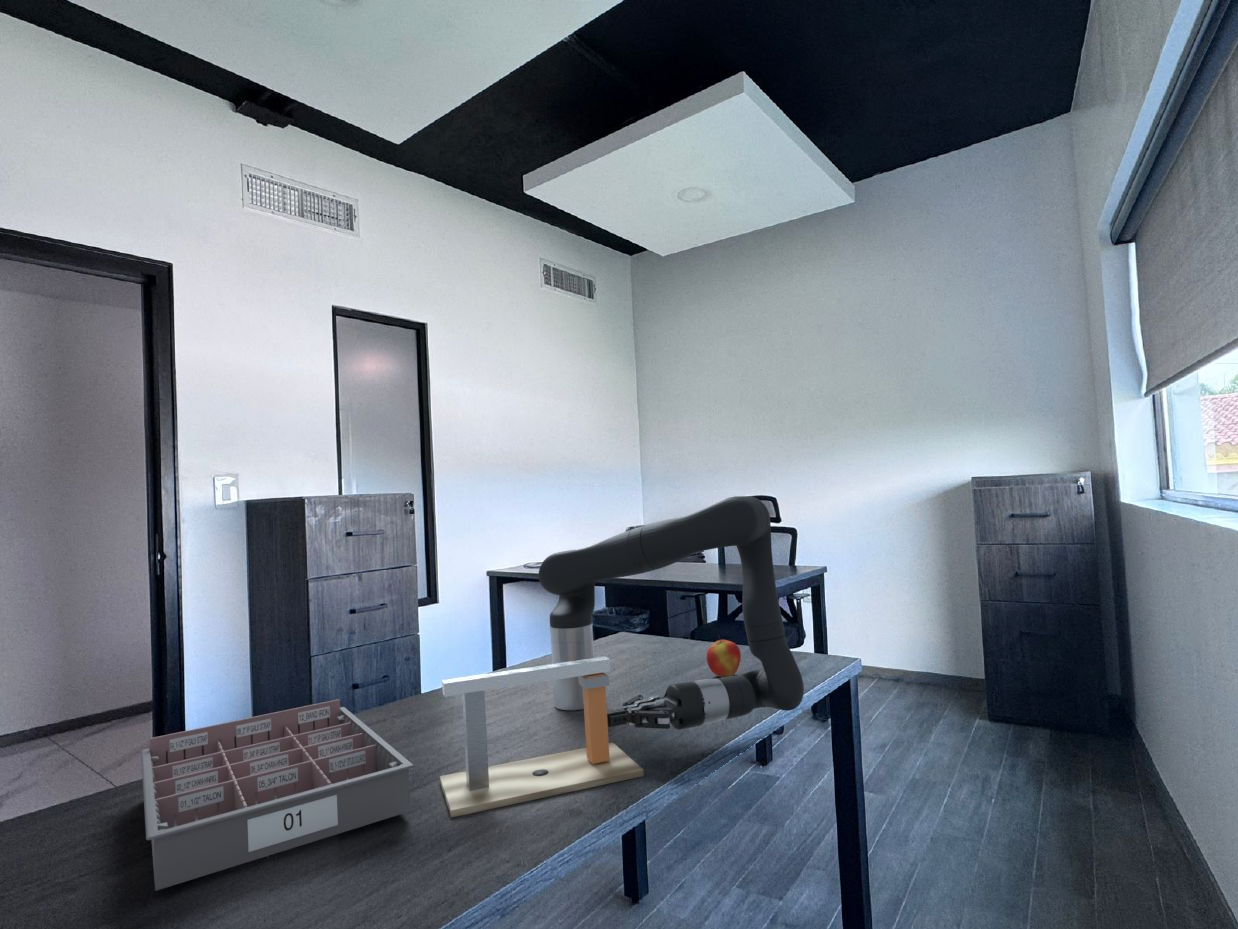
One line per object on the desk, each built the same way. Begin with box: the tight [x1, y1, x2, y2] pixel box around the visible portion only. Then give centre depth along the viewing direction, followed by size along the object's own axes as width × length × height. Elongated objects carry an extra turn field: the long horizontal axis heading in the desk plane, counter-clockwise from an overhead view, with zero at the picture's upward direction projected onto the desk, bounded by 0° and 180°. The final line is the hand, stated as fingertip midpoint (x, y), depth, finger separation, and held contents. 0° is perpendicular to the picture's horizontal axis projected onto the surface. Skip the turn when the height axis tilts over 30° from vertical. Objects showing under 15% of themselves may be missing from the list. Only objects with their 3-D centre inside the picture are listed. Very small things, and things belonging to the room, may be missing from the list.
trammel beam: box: [441, 656, 611, 791], centre depth 112 cm, size 3×27×17 cm, turn 111°
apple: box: [706, 634, 741, 678], centre depth 168 cm, size 8×8×10 cm
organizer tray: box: [140, 698, 415, 892], centre depth 108 cm, size 32×40×10 cm
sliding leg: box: [578, 672, 610, 764], centre depth 116 cm, size 4×4×14 cm
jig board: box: [439, 742, 645, 818], centre depth 112 cm, size 14×30×1 cm, turn 111°
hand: (604, 719), depth 117 cm, fingers closed
